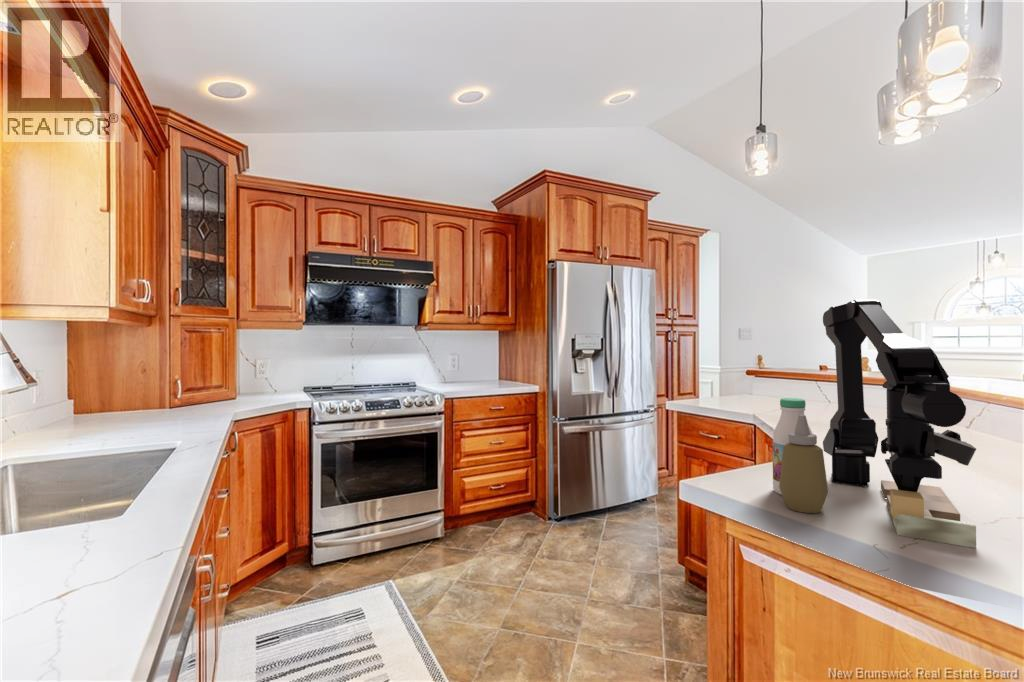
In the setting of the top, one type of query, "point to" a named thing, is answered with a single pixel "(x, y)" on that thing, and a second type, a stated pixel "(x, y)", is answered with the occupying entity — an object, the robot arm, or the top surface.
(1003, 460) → the top surface
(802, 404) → the milk bottle
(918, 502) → the block
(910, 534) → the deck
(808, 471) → the squeeze bottle
